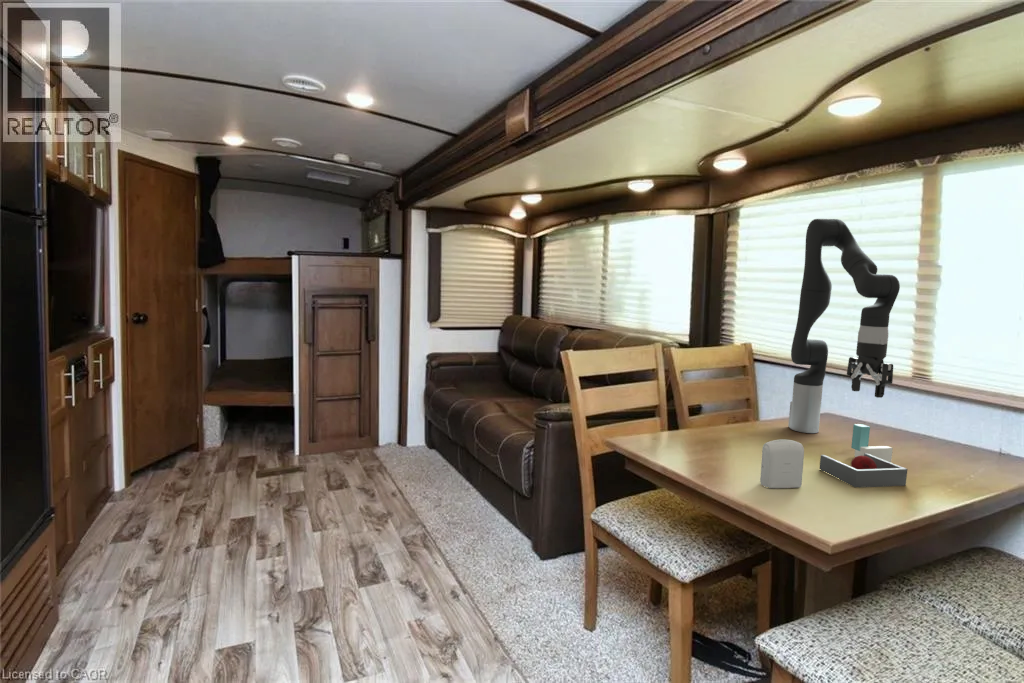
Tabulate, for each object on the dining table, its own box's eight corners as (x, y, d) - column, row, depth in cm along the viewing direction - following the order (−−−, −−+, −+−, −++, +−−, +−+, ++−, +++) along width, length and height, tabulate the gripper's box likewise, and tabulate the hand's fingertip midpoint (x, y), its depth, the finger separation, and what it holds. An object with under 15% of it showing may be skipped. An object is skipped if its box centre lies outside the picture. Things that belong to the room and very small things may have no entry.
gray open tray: (819, 470, 150) (820, 454, 149) (865, 468, 152) (867, 453, 152) (855, 487, 137) (857, 470, 137) (905, 485, 139) (907, 469, 139)
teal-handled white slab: (841, 455, 163) (845, 424, 162) (867, 455, 165) (870, 423, 164) (864, 465, 155) (867, 432, 154) (890, 464, 156) (894, 431, 155)
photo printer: (766, 489, 134) (770, 442, 133) (756, 483, 139) (760, 437, 137) (804, 489, 135) (808, 442, 134) (793, 482, 140) (797, 437, 138)
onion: (840, 462, 148) (863, 472, 140) (854, 447, 148) (878, 457, 140) (851, 475, 149) (875, 486, 141) (865, 461, 149) (890, 471, 141)
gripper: (842, 338, 164) (838, 389, 166) (881, 344, 150) (875, 399, 152) (864, 338, 166) (858, 389, 167) (904, 344, 152) (898, 399, 153)
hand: (866, 394), depth 160 cm, fingers open, 8 cm apart
